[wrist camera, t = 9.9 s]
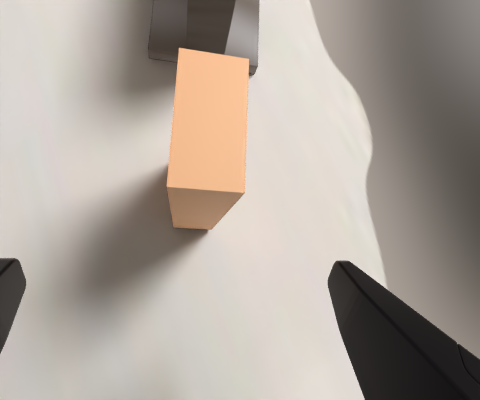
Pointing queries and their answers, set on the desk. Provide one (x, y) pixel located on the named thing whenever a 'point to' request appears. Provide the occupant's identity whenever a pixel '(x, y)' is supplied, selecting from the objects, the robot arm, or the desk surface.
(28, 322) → the desk surface
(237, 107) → the block
